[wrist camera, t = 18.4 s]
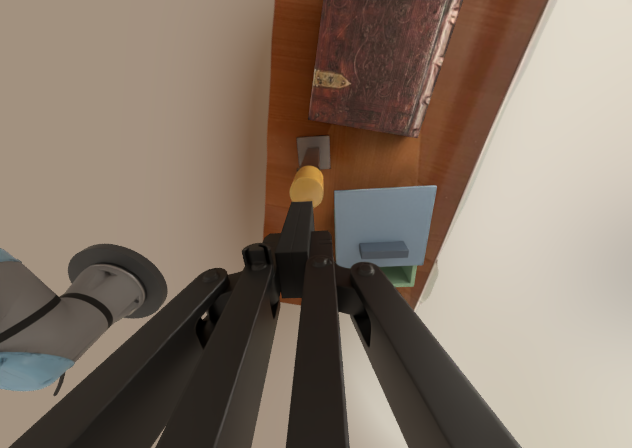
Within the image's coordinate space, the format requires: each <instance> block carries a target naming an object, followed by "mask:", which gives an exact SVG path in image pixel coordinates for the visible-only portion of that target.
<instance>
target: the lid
mask: <svg viewBox="0 0 632 448" xmlns="http://www.w3.org/2000/svg"><path fill="white" fill-rule="evenodd" d="M436 189H437V186H435V185H430V186H411V187H392V188H373V189H355V190H336V191H334V204H335V240H336V264H338V265H339V266H342V267H345V268H351V266H352V265H354V264H355V263H358V262H371V263H373V264H376V265H377V266H378V267H387V266H415V265H423V262H424V257H425V251H426V245H427V240H428V234H429V229H430V223H431V217H432V212H433V206H434V200H435V195H436Z"/></svg>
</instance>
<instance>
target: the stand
mask: <svg viewBox="0 0 632 448" xmlns="http://www.w3.org/2000/svg"><path fill="white" fill-rule="evenodd" d="M297 149H298V159H299V168H297V171H298V170H299V169H300V168H302V167H304V166H314V167H316V168H317V169H319V170H320V169H331V167H330V139H329V135H320V136H305V137H297Z"/></svg>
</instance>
